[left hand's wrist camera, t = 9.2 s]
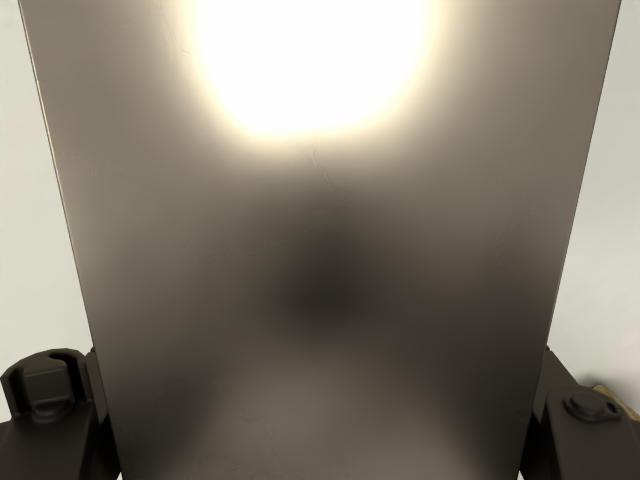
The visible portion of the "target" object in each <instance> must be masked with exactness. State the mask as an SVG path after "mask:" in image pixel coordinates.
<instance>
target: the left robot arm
mask: <svg viewBox="0 0 640 480" xmlns="http://www.w3.org/2000/svg"><path fill="white" fill-rule="evenodd" d="M0 381H1V384H2V387H3V390H4V393H5V397H6V400H7V403H8V406H9V409H10V413H11V416H12V417H11V420H10V421H6V422H3V423H0V480H117V478H118V476H119V474H120V472H121V470H120V465H119V460H118V456H117V451H116V447H115V442H114V438H113V433H112V428H111V424H110V419H109V415H108V410H107V406H106V401H105V397H104V392H103V387H102V383H101V378H100V374H99V369H98V365H97V360H96V355H95V351H94V346H93V347H92V348H91V351H90V352H88V353H87V355H86V356H84V355H83V354H82V353H80V352H79V351H78V350H73V349H68V348H63V349H51V350H47V351H43V352H39V353H35V354H33V355H31V356H28V357H26V358H24V359H21V360H20V361H18V362H17V363H15V364H14V365H12V366H11V367H9V368H8V369H7V370H6V371H5V372H4V374H3V375H2V376H1V377H0ZM519 470H520V472H521V474H522V476H523V479H524V480H640V421H637V420H633V419H630V418H629V417H628V415H627V414H626V412H625V411H624V409H623V408H622V407H621V405H619V404H618V403H617V402H615V401H614V400H613V399H612V398H610V397H609V396H607V395H605V394H603V393H601V392H599V391H597V390H595V389H592V388H588V387H585V386H581V385H579V384H578V383H577V382H576V381H575V379H574V378H573V377H572V376H571V374H570V373H569V372H568V371H567V369H566V368H565V367H564V366H563V364H562V363H561V362H560V361H559V359H558V358H557V357H556V356H555V354H554V353H553V352H552V351H550V350H549V347H548V346H547V345H546V349H545V354H544V359H543V363H542V368H541V372H540V377H539V382H538V386H537V391H536V395H535V400H534V405H533V409H532V414H531V418H530V423H529V428H528V432H527V437H526V441H525V446H524V451H523V455H522V460H521V464H520V469H519Z"/></svg>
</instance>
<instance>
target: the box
mask: <svg viewBox="0 0 640 480" xmlns="http://www.w3.org/2000/svg"><path fill="white" fill-rule="evenodd" d="M18 4H19V8H20V13H21V18H22V22H23V27H24V31H25V36H26V40H27V45H28V50H29V54H30V59H31V63H32V68H33V72H34V77H35V81H36V86H37V91H38V95H39V100H40V104H41V109H42V113H43V118H44V123H45V127H46V132H47V136H48V141H49V145H50V150H51V155H52V159H53V164H54V168H55V173H56V177H57V182H58V186H59V191H60V196H61V200H62V205H63V209H64V214H65V218H66V223H67V228H68V232H69V237H70V241H71V246H72V250H73V255H74V260H75V264H76V269H77V273H78V278H79V282H80V287H81V292H82V296H83V301H84V305H85V310H86V314H87V319H88V323H89V328H90V333H91V337H92V342H93V346H94V351H95V355H96V360H97V365H98V369H99V374H100V378H101V383H102V387H103V392H104V397H105V401H106V406H107V410H108V415H109V419H110V424H111V428H112V433H113V438H114V442H115V447H116V451H117V456H118V460H119V465H120V470H121V474H122V479H123V480H517V478H518V474H519V469H520V464H521V460H522V455H523V451H524V446H525V441H526V437H527V432H528V428H529V423H530V418H531V414H532V409H533V405H534V400H535V395H536V391H537V386H538V382H539V377H540V372H541V368H542V363H543V359H544V354H545V349H546V345H547V340H548V336H549V331H550V326H551V322H552V317H553V313H554V308H555V303H556V299H557V294H558V290H559V285H560V280H561V276H562V271H563V267H564V262H565V257H566V253H567V248H568V244H569V239H570V234H571V230H572V225H573V221H574V216H575V211H576V207H577V202H578V198H579V193H580V188H581V184H582V179H583V175H584V170H585V165H586V161H587V156H588V152H589V147H590V142H591V138H592V133H593V129H594V124H595V119H596V115H597V110H598V106H599V101H600V96H601V92H602V87H603V83H604V78H605V73H606V69H607V64H608V60H609V55H610V50H611V46H612V41H613V37H614V32H615V27H616V23H617V18H618V14H619V9H620V4H621V0H18Z"/></svg>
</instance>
